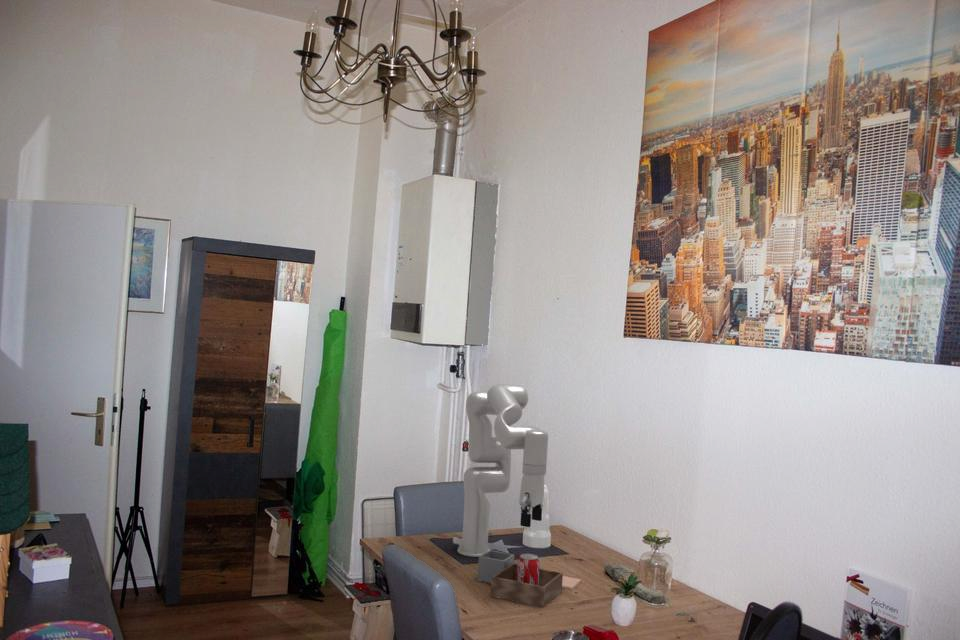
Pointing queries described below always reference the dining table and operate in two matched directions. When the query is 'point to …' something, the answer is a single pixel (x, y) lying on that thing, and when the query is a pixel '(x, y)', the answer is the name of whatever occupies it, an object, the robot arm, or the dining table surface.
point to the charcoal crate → (493, 564)
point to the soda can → (528, 569)
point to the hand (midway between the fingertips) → (531, 523)
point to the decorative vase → (539, 527)
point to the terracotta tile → (570, 582)
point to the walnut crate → (527, 586)
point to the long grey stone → (641, 590)
